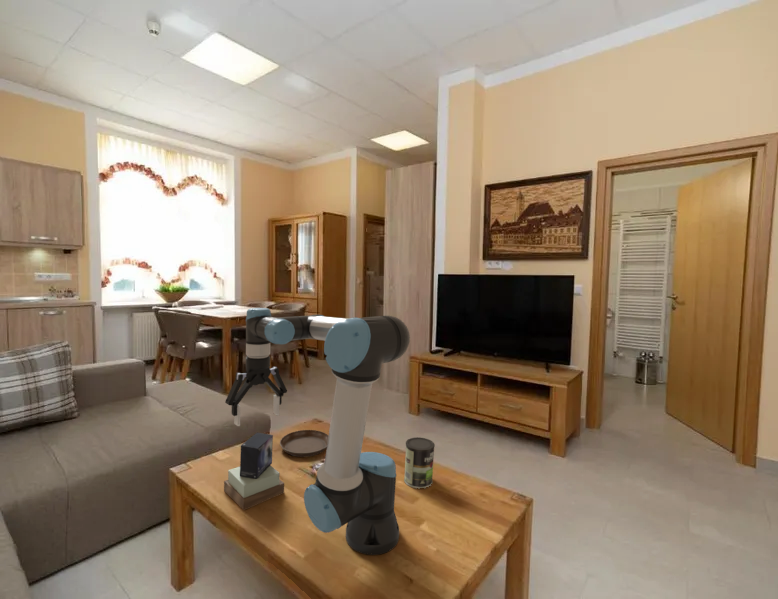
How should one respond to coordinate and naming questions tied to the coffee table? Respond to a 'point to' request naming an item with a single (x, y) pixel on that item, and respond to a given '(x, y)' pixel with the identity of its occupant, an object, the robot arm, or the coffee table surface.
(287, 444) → the plant saucer
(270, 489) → the base slab
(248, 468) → the small box
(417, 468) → the coffee can
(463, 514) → the coffee table surface
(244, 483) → the top slab
